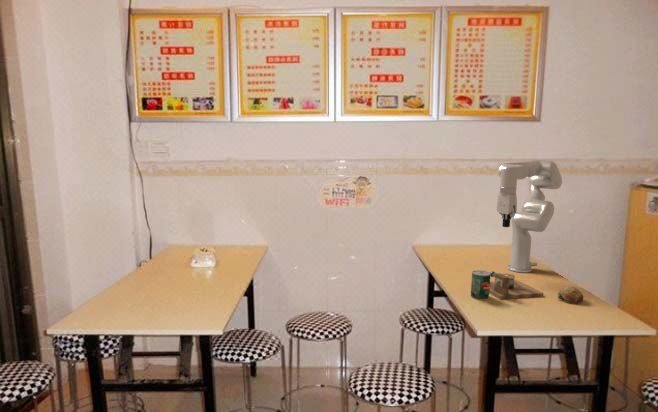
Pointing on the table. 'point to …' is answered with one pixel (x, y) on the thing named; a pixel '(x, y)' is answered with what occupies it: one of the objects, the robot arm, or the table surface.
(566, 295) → the bread roll
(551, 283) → the table surface
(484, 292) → the canned tomato
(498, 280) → the stand
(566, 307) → the table surface
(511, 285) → the lever
